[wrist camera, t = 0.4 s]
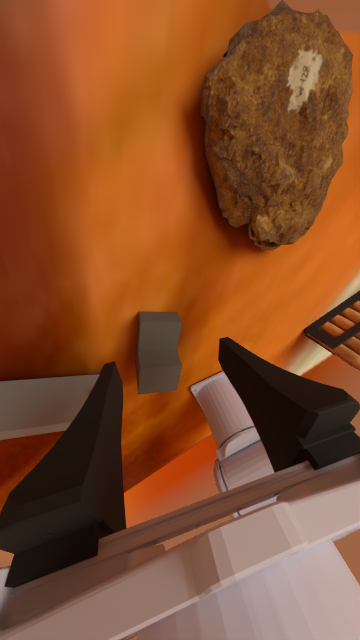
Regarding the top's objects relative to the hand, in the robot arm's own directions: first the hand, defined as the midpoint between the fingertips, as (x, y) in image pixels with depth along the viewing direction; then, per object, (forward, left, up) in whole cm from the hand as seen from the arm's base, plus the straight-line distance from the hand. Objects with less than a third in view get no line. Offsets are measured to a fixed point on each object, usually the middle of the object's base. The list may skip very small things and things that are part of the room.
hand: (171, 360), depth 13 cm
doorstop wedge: (-5, +2, -10) cm, 12 cm away
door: (-3, +15, -9) cm, 18 cm away
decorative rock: (+7, -15, -10) cm, 19 cm away
